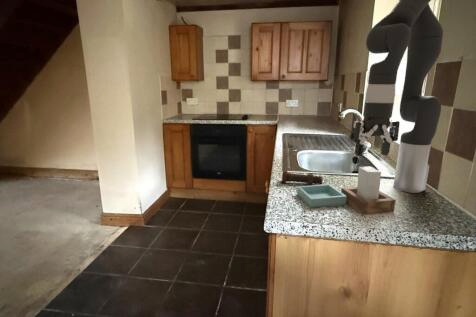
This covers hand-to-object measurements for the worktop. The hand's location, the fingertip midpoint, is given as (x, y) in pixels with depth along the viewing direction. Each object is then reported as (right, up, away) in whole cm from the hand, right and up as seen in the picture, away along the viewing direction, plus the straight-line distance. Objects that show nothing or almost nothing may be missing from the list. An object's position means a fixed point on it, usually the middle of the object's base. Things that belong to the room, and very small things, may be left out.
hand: (371, 155), depth 84 cm
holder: (0, -16, +4) cm, 16 cm away
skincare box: (0, -16, +4) cm, 17 cm away
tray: (-13, -15, +9) cm, 21 cm away
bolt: (-16, -11, +23) cm, 30 cm away
